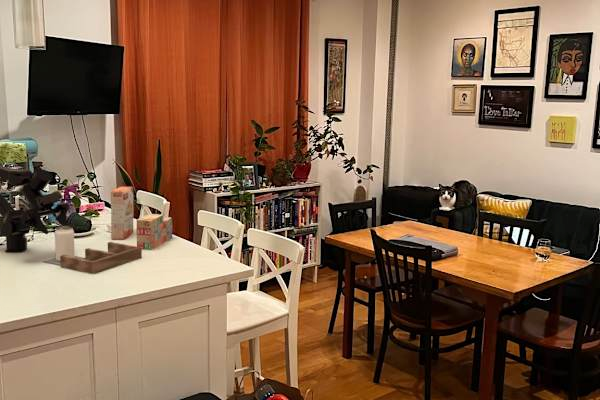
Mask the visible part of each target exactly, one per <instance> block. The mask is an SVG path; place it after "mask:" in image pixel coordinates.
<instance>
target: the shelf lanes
mask: <svg viewBox="0 0 600 400" xmlns="http://www.w3.org/2000/svg"><path fill="white" fill-rule="evenodd" d="M142 250H143V249H142V247H137V245H136V246H135V245H132V244H131V245H129V244H124V243H119V242H113V241H108V242H107V251H104V250H99V249H94V248H90V247H87V248H85V249H84V255H85V257H84V258H85V259H80V258H75V257H70V256H65V255H62V256H60V263H61V266H60V268H64V269H69V270H72V271H73V270H74V271H77V272H81V273H82V272H84V273H86V272H87V273H86V274H91V273H92V275H94V273H95V274H98V273H101V272H105V271H106V270H109V269H112V268H115V267H119V266H122V265H125V264H127V263H130V262H133V261H137V260H139V259H142V257H143V256H142V253H143V251H142ZM90 260H91V261H90ZM97 272H98V273H97Z"/></svg>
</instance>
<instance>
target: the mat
mask: <svg viewBox="0 0 600 400" xmlns="http://www.w3.org/2000/svg"><path fill="white" fill-rule="evenodd" d="M75 258H80V259H85V257H83V256H78V255H75ZM42 263H45V264H50V265H56V266H60V267H61V263H60V262H59V261H57V260H56V257H54V258H50V259H46V260H43V261H42Z"/></svg>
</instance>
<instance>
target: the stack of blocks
mask: <svg viewBox="0 0 600 400" xmlns="http://www.w3.org/2000/svg"><path fill="white" fill-rule="evenodd" d="M171 239H173V218H172V217H170V216H169V217H167V216H164V214H160V213H159V214H158V213H157V214H156V213H149V214H146V215H144V216H142V217H140V218H137V219H136V247H142V250H148V251H152V250H154V249H157V247H160V246H161V245H162V244H164V243H166V242H168V241H170V240H171Z"/></svg>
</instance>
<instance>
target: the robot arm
mask: <svg viewBox="0 0 600 400" xmlns="http://www.w3.org/2000/svg"><path fill="white" fill-rule="evenodd" d="M52 178H53V176H52V174H51V173H50V172H49V171H47V170H45V169H43V168H42V167H40V166H39V167H35V168H34V169H33V171H32V170H30V169H14V168H11V167H7V166H5V165H2V164H1V165H0V179H4V180H6V181H7V182H8V183H9V184H10V185H12V186H14V187H16V188H17V187H22V188H20V189H19V193H18V197H24V199H26V202H28V205H27V207H28V208H29V209H25V210H24V209H20V208H19V209H15V208H14V207H13V206H12V204H11V203H10V202H9V201H8V200H7V199H6V197H4V196H3V194H1V192H0V215H1V216H2V218H3V227H2V228H1V229H0V233H1V236H2V237H5V241H6V243H5V244H6V250H5V253H22V252H25V251H26V249H28V237H27V236H26V234H30V230H31V228H33V229H35V230H38V231H39V232H41V233H43V234H44V235H49V231H48V229H47V227H46V225H45V224H44V222H43V221H42V218H41V217H45V216H49V215H52V216H53V217H55V221H56V222H57V223H59V225H60V226H69V223H68V218H67V213H68V212H69V210H70V209H71V205H69V203H68V202H62V203H61V202H60V201H61V199H62V198H63V196H62V193H61V192H60V191H59V190H56V191H53V192H51V193H48V194H43V193H42V191H44V189H46V187H47V185H49V183H50V182H51V180H52ZM57 202H60V203H57ZM56 203H57V205H56V206H55V204H56ZM54 206H55V207H54Z"/></svg>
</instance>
